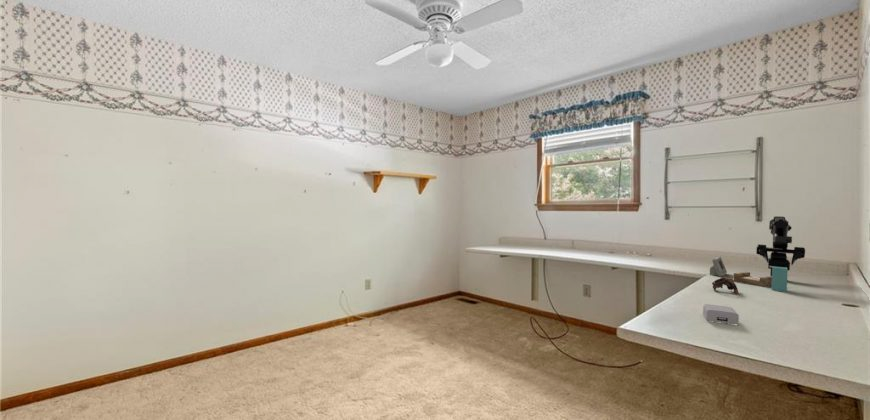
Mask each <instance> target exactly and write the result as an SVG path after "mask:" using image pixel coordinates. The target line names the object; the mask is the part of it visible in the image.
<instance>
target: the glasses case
mask: <svg viewBox="0 0 870 420" xmlns="http://www.w3.org/2000/svg"><path fill="white" fill-rule="evenodd" d="M771 267H772V286H771V291H777V292H783V293H788V281H787V280H788V271H789V270H788V269H787V268H786V267H775V266H771Z"/></svg>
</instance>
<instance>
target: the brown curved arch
mask: <svg viewBox="0 0 870 420" xmlns="http://www.w3.org/2000/svg"><path fill="white" fill-rule="evenodd" d="M711 284H712V289H713V291H716V290H717V289H720V288H721V289H724V288H723V287H724V286H726V288H727V290H730V291H733V292H734V293H735V296H736V295H738V294H739V289H738V287H737V284H736V282H735V281H734V279H732V278H729V277H726V276H725V277H720V278H718V279H715V280H714V281H712V282H711Z"/></svg>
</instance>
